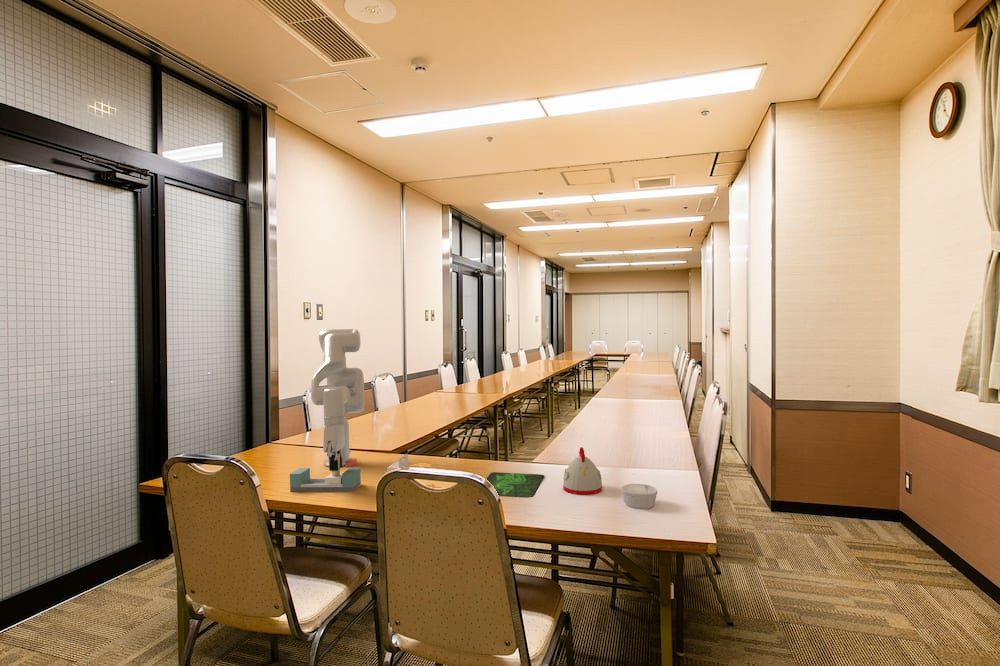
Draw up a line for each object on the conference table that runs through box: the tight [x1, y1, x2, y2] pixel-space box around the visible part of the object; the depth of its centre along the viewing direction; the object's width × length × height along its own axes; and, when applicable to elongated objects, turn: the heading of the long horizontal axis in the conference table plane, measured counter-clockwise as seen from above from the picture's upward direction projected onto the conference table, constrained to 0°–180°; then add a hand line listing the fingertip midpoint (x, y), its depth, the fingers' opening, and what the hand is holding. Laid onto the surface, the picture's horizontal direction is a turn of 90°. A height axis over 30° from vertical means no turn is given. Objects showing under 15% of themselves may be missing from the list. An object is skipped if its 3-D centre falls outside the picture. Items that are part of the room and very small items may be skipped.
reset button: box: [345, 458, 358, 468], centre depth 191 cm, size 4×4×2 cm
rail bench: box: [289, 467, 362, 492], centre depth 192 cm, size 8×24×6 cm, turn 86°
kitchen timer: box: [563, 446, 603, 496], centre depth 183 cm, size 14×14×15 cm
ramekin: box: [621, 483, 658, 510], centre depth 166 cm, size 11×11×5 cm
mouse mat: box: [485, 471, 545, 499], centre depth 190 cm, size 27×22×1 cm
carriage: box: [324, 453, 343, 484], centre depth 192 cm, size 6×6×11 cm
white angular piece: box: [386, 453, 410, 473], centre depth 179 cm, size 9×5×15 cm, turn 168°
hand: (335, 468), depth 192 cm, fingers closed on carriage, 3 cm apart
